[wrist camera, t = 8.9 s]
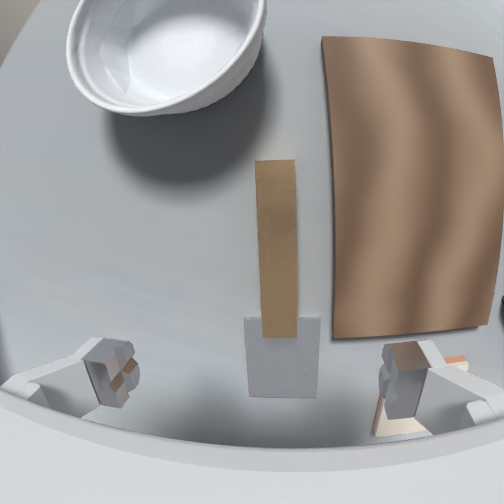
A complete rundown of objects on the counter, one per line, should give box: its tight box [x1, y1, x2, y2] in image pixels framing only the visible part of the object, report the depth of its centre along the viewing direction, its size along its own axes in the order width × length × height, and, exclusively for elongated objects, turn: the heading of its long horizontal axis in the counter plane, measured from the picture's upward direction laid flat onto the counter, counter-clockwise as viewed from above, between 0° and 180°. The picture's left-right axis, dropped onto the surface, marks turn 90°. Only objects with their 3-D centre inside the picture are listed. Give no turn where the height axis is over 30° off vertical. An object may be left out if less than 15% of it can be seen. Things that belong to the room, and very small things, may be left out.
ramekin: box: [66, 0, 267, 116], centre depth 18 cm, size 13×13×7 cm
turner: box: [244, 160, 320, 398], centre depth 23 cm, size 20×6×3 cm, turn 3°
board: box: [321, 36, 504, 338], centre depth 21 cm, size 14×22×2 cm, turn 4°
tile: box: [373, 356, 469, 437], centre depth 26 cm, size 2×8×8 cm
